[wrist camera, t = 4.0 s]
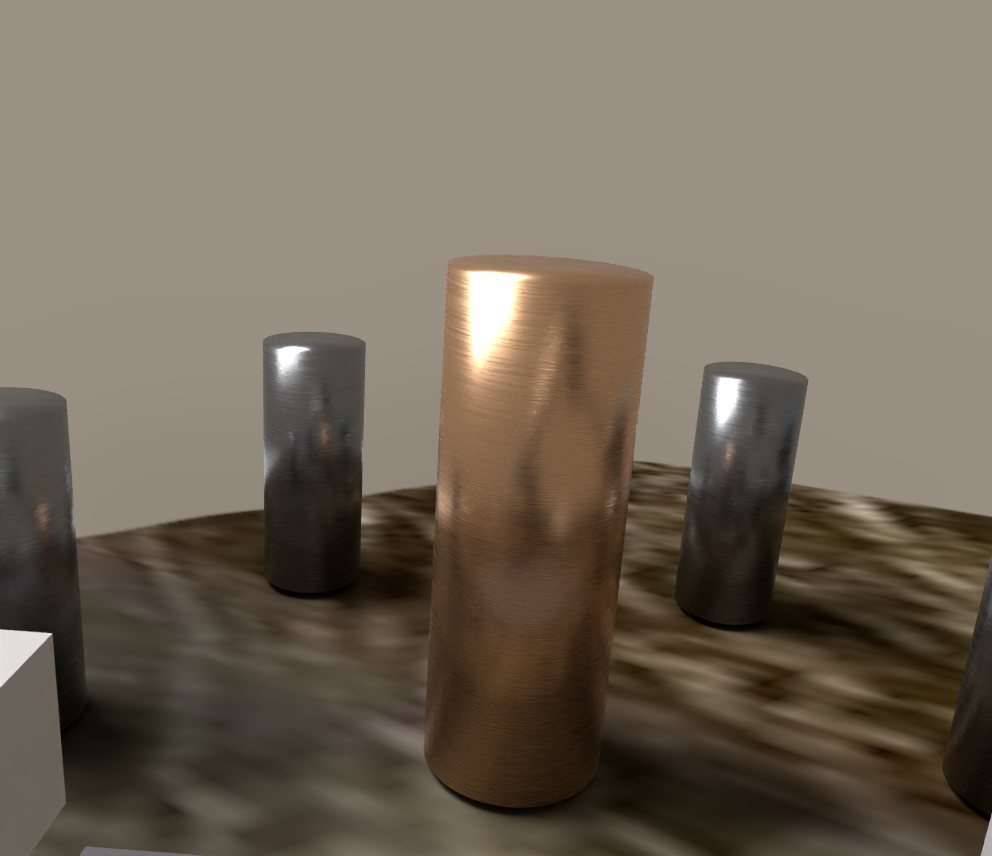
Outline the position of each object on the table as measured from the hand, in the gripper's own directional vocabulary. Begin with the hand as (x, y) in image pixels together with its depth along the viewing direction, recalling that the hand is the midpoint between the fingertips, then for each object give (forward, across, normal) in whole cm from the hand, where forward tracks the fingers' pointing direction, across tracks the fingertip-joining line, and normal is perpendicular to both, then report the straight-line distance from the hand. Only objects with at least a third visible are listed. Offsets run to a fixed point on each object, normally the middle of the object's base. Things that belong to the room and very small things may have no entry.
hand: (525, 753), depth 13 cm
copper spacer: (+9, 0, -7) cm, 11 cm away
